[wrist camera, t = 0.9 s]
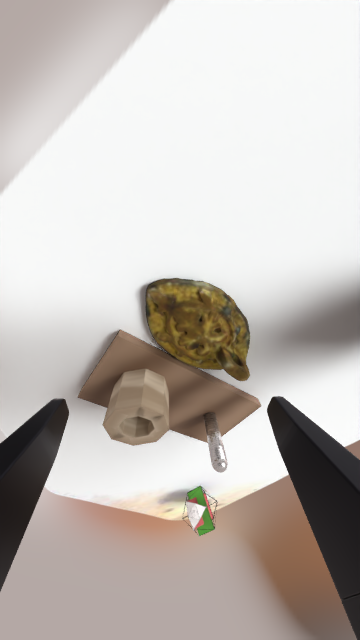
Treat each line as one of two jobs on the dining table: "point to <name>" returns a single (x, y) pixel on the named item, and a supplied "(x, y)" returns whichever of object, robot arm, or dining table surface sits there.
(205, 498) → the geometric puzzle
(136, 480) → the dining table surface
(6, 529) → the robot arm
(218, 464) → the steel post
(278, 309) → the dining table surface
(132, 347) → the board
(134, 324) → the dining table surface
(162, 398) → the beech bead
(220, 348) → the olive gold carved ornament
